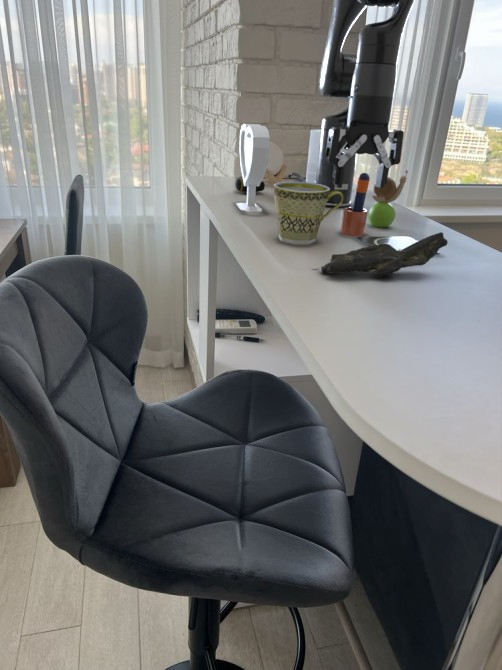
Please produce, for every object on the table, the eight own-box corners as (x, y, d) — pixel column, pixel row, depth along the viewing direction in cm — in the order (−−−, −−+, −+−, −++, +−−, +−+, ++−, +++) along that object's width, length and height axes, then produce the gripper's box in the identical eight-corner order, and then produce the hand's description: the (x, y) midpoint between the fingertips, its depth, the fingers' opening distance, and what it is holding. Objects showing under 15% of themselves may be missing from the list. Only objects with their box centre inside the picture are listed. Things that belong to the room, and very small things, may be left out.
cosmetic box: (323, 183, 153) (329, 128, 146) (340, 187, 149) (347, 130, 142) (304, 185, 148) (309, 128, 141) (320, 189, 144) (326, 131, 137)
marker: (345, 230, 101) (357, 171, 94) (355, 230, 101) (368, 171, 94) (349, 235, 99) (362, 175, 92) (359, 235, 100) (372, 175, 93)
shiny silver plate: (356, 239, 97) (357, 236, 97) (408, 239, 100) (409, 235, 99) (382, 257, 88) (383, 253, 87) (439, 256, 90) (439, 252, 90)
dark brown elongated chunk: (329, 297, 76) (453, 271, 78) (329, 266, 73) (458, 239, 75) (317, 277, 81) (433, 253, 83) (316, 247, 78) (437, 222, 80)
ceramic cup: (275, 248, 89) (280, 191, 85) (265, 233, 98) (269, 180, 93) (346, 249, 91) (354, 192, 87) (329, 234, 100) (336, 182, 95)
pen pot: (337, 232, 102) (340, 207, 100) (358, 231, 103) (361, 207, 101) (345, 238, 98) (349, 212, 96) (367, 237, 99) (371, 212, 97)
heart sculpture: (234, 201, 123) (237, 121, 115) (254, 201, 124) (258, 122, 116) (246, 216, 110) (250, 127, 102) (268, 216, 111) (274, 128, 103)
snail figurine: (398, 232, 104) (409, 172, 99) (366, 229, 105) (375, 169, 100) (396, 226, 109) (407, 168, 103) (366, 223, 110) (375, 166, 104)
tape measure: (265, 194, 134) (266, 179, 132) (242, 195, 130) (243, 180, 129) (252, 189, 139) (253, 175, 137) (230, 190, 136) (231, 176, 134)
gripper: (398, 94, 94) (383, 184, 101) (326, 90, 91) (316, 183, 98) (419, 96, 87) (401, 191, 95) (342, 91, 84) (330, 190, 92)
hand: (358, 187), depth 96 cm, fingers open, 8 cm apart
